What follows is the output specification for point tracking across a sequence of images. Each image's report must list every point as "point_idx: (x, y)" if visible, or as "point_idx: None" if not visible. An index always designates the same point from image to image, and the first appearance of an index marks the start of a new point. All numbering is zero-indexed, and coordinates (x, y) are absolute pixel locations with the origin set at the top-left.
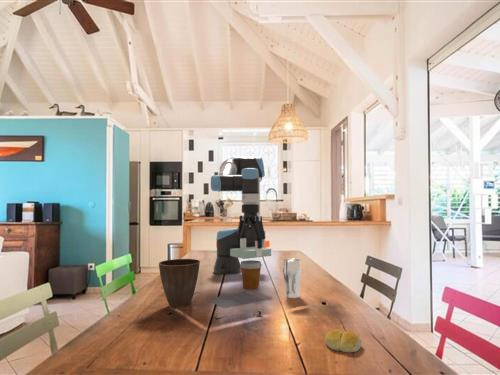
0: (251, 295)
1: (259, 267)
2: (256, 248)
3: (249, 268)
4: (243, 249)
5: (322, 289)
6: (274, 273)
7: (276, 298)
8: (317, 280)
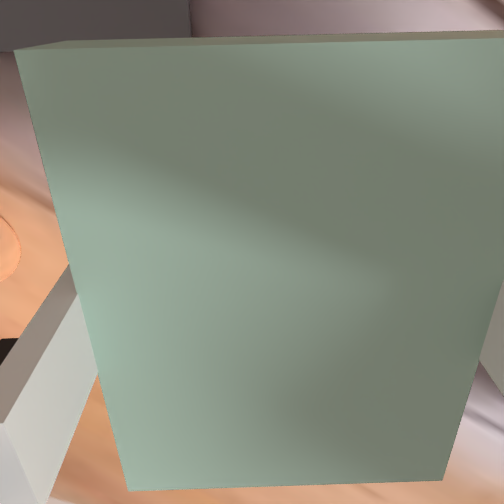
0: (69, 32)
1: None
2: (34, 316)
3: None
4: (299, 205)
5: (77, 432)
6: (487, 450)
7: (5, 169)
8: (229, 498)
